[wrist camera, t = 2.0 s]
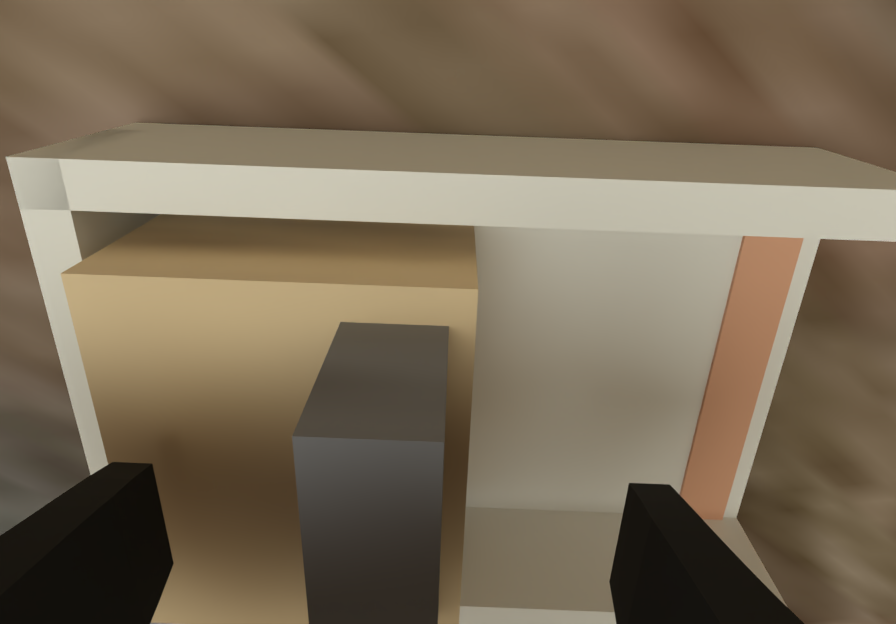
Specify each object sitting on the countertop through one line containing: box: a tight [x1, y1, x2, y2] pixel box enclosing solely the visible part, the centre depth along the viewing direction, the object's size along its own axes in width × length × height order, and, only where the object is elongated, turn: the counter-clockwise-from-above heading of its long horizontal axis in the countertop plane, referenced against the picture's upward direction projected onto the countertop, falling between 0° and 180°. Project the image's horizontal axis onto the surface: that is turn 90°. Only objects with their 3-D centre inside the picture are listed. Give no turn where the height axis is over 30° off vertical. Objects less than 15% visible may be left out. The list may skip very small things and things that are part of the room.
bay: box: [6, 123, 896, 624], centre depth 13 cm, size 10×14×4 cm
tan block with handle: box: [61, 214, 478, 624], centre depth 11 cm, size 7×6×7 cm
